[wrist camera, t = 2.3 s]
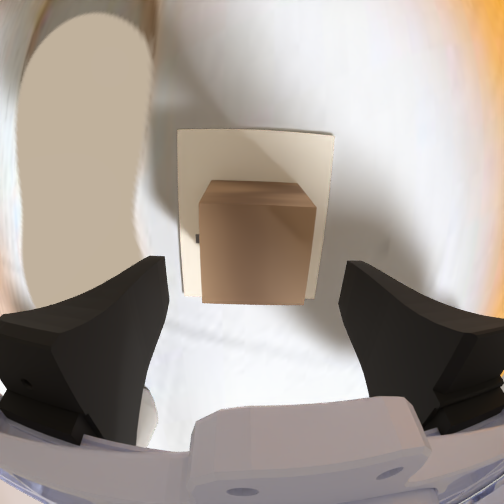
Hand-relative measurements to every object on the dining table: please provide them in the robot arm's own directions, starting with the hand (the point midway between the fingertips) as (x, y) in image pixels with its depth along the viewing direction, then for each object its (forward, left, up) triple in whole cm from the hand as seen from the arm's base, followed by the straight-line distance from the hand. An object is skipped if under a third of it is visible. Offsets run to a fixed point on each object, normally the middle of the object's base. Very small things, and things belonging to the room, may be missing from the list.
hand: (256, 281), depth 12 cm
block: (0, 0, -7) cm, 7 cm away
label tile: (0, 0, -7) cm, 7 cm away
